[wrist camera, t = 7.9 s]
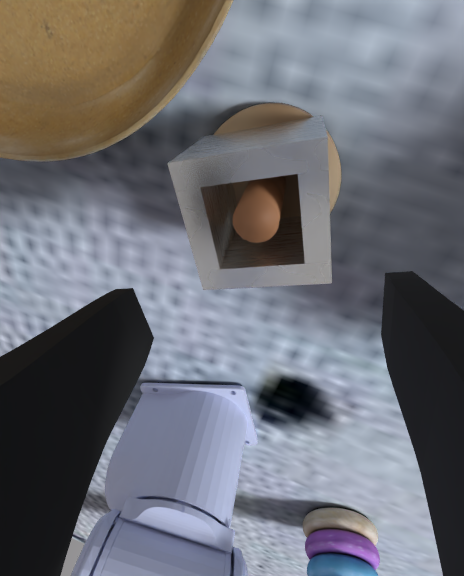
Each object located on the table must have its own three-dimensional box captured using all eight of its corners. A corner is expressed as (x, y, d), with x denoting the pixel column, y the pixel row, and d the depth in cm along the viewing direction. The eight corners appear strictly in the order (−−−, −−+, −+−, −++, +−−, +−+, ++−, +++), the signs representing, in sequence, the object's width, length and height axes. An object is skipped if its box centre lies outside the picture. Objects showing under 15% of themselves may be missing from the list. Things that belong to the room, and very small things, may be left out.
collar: (226, 240, 19) (203, 290, 15) (203, 136, 16) (167, 163, 12) (326, 231, 17) (331, 283, 13) (322, 115, 14) (327, 136, 10)
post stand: (219, 245, 20) (193, 298, 15) (189, 117, 16) (144, 139, 12) (340, 234, 18) (350, 291, 14) (339, 88, 14) (353, 100, 10)
